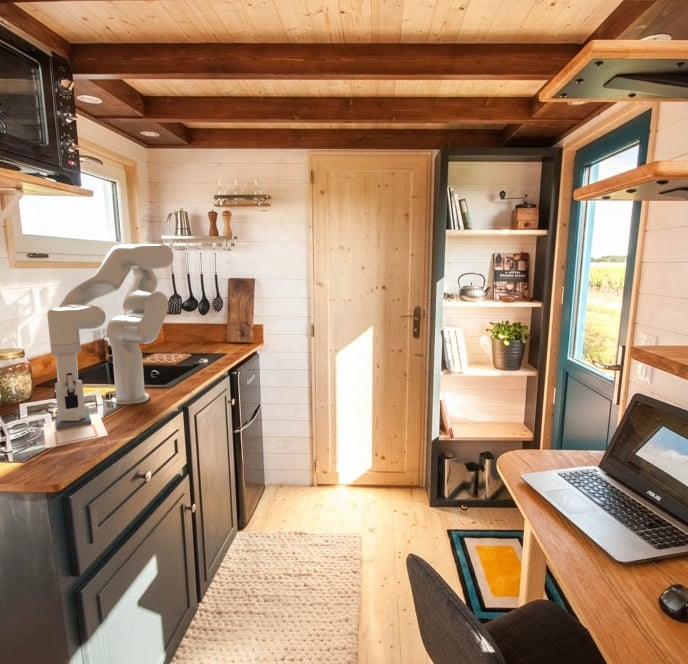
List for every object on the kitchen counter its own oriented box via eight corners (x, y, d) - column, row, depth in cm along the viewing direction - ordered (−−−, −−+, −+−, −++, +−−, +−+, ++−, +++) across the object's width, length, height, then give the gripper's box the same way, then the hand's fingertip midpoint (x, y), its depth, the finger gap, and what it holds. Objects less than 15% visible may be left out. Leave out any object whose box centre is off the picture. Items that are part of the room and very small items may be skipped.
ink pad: (55, 422, 130) (54, 418, 130) (88, 416, 136) (88, 412, 135) (56, 430, 124) (56, 426, 124) (91, 424, 129) (91, 420, 129)
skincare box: (86, 416, 132) (82, 379, 130) (78, 421, 127) (74, 383, 125) (66, 415, 131) (63, 379, 129) (58, 421, 127) (54, 383, 125)
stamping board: (43, 425, 129) (43, 422, 129) (98, 415, 138) (98, 413, 138) (45, 450, 113) (45, 447, 113) (108, 437, 122) (108, 434, 122)
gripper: (49, 344, 130) (55, 399, 133) (52, 355, 117) (58, 415, 120) (77, 342, 135) (82, 394, 138) (83, 352, 121) (88, 410, 124)
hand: (71, 404), depth 129 cm, fingers closed on skincare box, 6 cm apart
